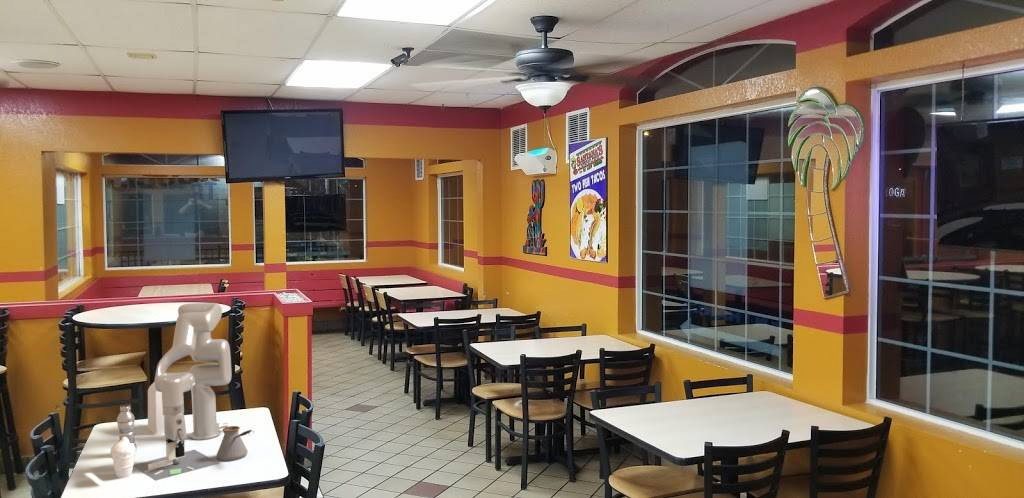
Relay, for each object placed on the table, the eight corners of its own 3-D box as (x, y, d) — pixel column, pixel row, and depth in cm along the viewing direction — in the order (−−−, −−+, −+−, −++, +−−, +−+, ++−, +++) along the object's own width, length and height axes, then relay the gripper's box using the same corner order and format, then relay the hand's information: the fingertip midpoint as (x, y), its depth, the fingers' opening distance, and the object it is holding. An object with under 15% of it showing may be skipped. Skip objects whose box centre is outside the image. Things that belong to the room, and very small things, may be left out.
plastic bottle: (129, 457, 303) (126, 408, 302) (114, 456, 304) (112, 407, 303) (140, 451, 309) (137, 404, 308) (126, 451, 311) (123, 403, 309)
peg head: (182, 460, 292) (181, 439, 292) (185, 462, 290) (184, 441, 290) (147, 469, 283) (146, 448, 282) (150, 471, 281) (148, 449, 281)
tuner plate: (194, 453, 306) (194, 448, 306) (220, 466, 289) (220, 462, 289) (132, 468, 289) (131, 464, 289) (155, 484, 272) (155, 479, 272)
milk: (147, 429, 341) (144, 372, 340) (174, 423, 349) (171, 368, 347) (156, 434, 332) (153, 376, 331) (183, 429, 340) (180, 372, 339)
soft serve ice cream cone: (119, 485, 272) (117, 442, 271) (107, 481, 277) (104, 438, 276) (141, 478, 279) (139, 435, 278) (128, 474, 284) (126, 432, 283)
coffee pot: (211, 461, 296) (209, 423, 295) (238, 453, 305) (236, 417, 304) (239, 473, 282) (237, 434, 281) (266, 464, 291) (265, 426, 290)
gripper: (192, 411, 284) (194, 456, 285) (174, 403, 297) (176, 446, 298) (172, 415, 279) (174, 461, 280) (154, 407, 291) (156, 451, 292)
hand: (175, 453), depth 289 cm, fingers open, 8 cm apart
